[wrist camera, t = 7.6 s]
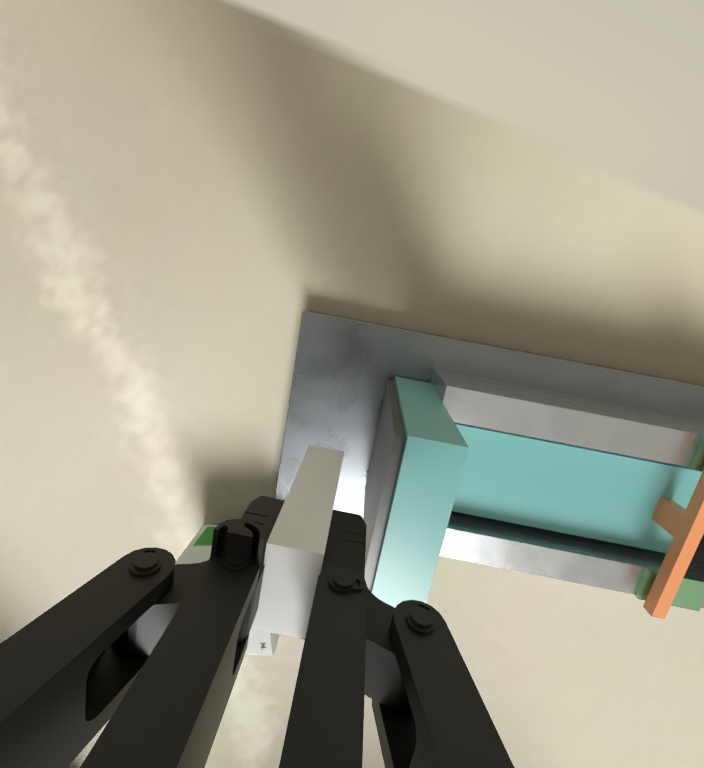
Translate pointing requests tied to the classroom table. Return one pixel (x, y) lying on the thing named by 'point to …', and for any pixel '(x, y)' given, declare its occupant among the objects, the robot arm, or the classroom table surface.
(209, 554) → the small box
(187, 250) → the classroom table surface
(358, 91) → the classroom table surface
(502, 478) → the plunger
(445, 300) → the classroom table surface
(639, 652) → the classroom table surface
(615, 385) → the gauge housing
